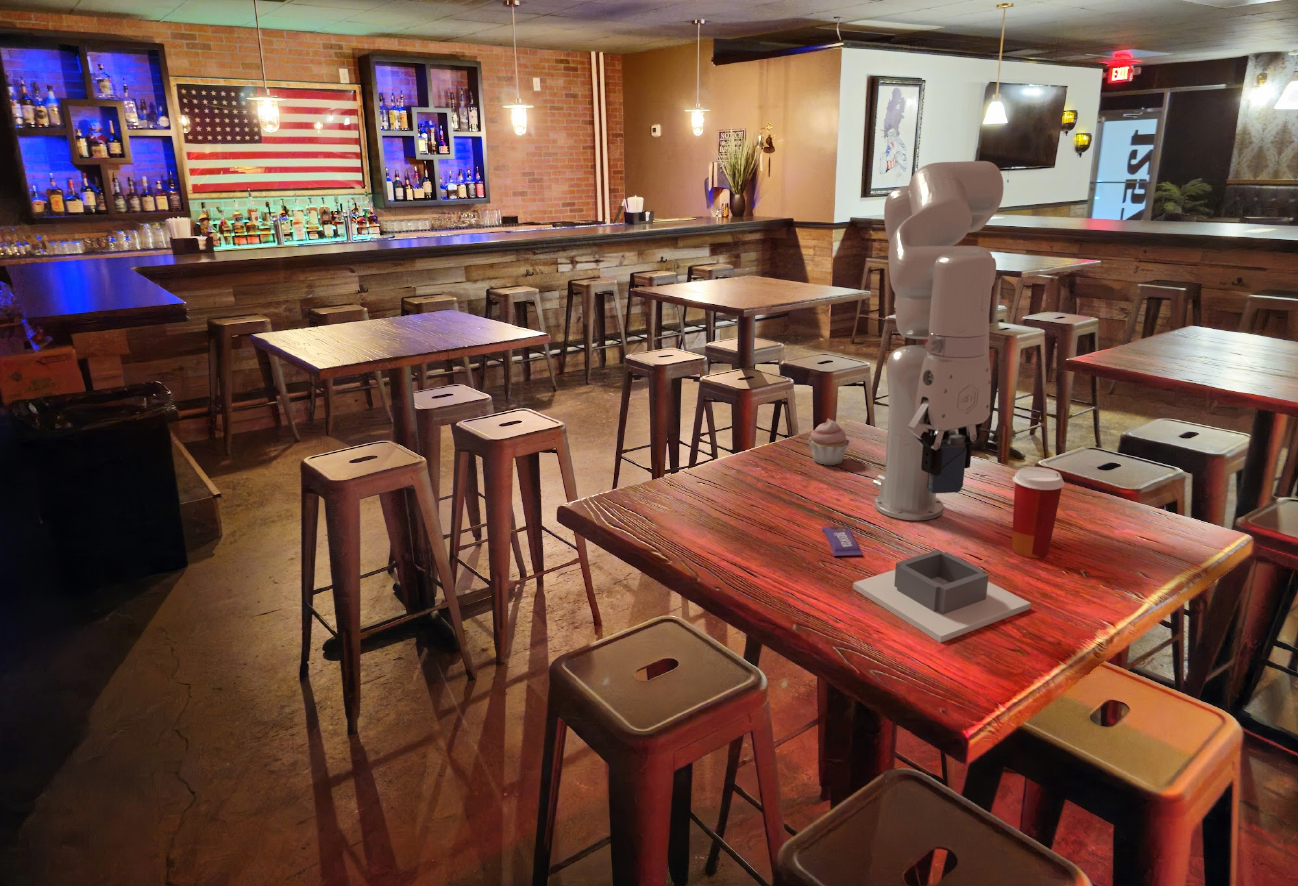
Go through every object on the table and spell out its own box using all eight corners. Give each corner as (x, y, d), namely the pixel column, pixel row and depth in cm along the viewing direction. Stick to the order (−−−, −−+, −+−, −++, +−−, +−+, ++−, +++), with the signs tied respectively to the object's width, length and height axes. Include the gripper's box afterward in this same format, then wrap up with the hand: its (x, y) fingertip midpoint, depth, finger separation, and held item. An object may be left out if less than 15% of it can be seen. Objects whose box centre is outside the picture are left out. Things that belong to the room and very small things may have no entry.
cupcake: (804, 454, 189) (806, 412, 186) (846, 454, 188) (848, 412, 185) (808, 468, 180) (809, 424, 177) (851, 468, 179) (853, 424, 176)
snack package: (863, 549, 139) (833, 550, 139) (863, 559, 139) (833, 561, 140) (848, 521, 150) (821, 522, 150) (848, 531, 150) (821, 532, 151)
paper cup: (1052, 543, 142) (1062, 467, 137) (1057, 563, 135) (1068, 484, 130) (1002, 538, 144) (1011, 463, 140) (1005, 557, 137) (1014, 479, 133)
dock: (853, 588, 129) (854, 559, 127) (937, 561, 137) (939, 534, 135) (940, 642, 114) (943, 610, 112) (1029, 609, 122) (1033, 578, 120)
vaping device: (922, 487, 121) (929, 409, 117) (957, 485, 121) (965, 407, 117) (929, 494, 119) (936, 414, 115) (965, 492, 119) (973, 413, 115)
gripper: (930, 358, 106) (919, 489, 112) (1023, 342, 113) (1008, 466, 119) (889, 348, 113) (881, 472, 119) (979, 333, 120) (968, 451, 126)
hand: (945, 467), depth 119 cm, fingers closed on vaping device, 4 cm apart
